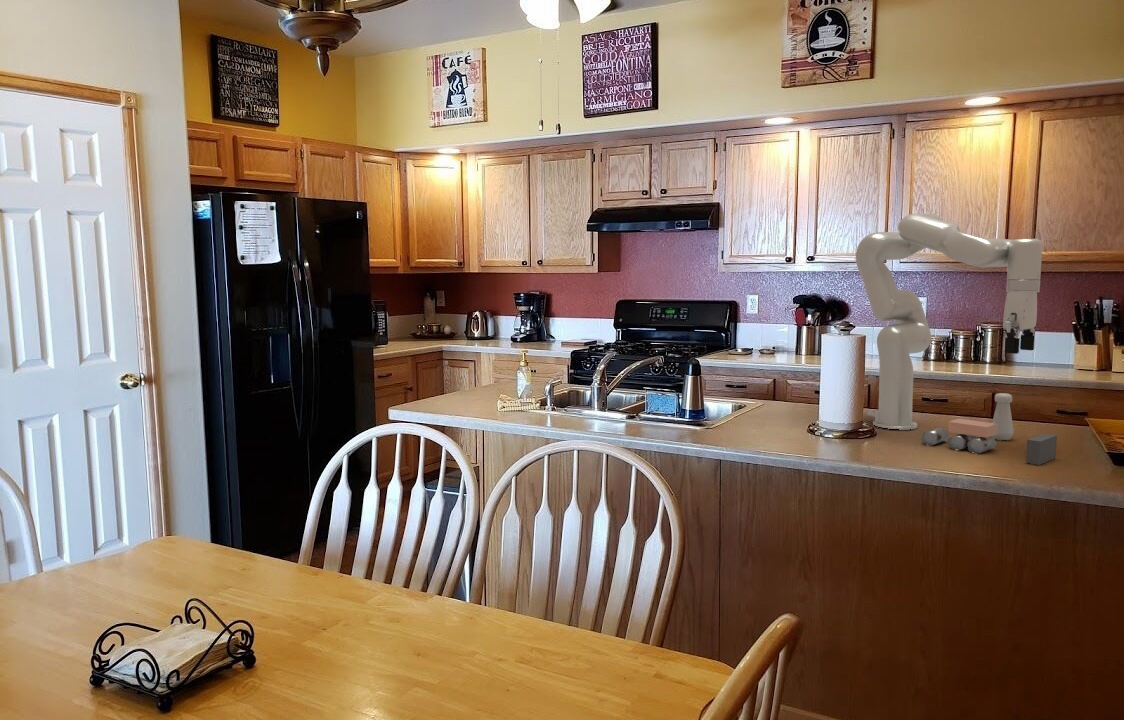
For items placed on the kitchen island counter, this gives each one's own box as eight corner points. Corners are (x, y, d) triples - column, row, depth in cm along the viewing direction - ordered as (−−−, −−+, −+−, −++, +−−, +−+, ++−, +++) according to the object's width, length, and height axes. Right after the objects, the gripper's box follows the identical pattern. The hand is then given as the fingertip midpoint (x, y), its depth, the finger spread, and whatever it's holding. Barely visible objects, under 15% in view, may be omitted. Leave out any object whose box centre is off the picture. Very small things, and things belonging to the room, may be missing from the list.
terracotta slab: (948, 431, 211) (948, 421, 211) (958, 428, 215) (959, 418, 215) (986, 437, 203) (987, 427, 203) (996, 434, 207) (997, 423, 207)
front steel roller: (966, 452, 207) (967, 437, 207) (979, 448, 212) (980, 433, 211) (982, 455, 204) (983, 440, 203) (995, 450, 208) (996, 435, 208)
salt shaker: (1001, 442, 217) (1003, 396, 216) (985, 437, 223) (986, 392, 221) (1018, 440, 219) (1020, 394, 217) (1001, 436, 224) (1003, 391, 223)
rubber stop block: (1026, 463, 195) (1027, 439, 194) (1042, 456, 201) (1043, 433, 200) (1039, 465, 192) (1040, 441, 191) (1055, 458, 198) (1056, 435, 198)
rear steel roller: (948, 449, 211) (948, 434, 211) (961, 444, 216) (961, 430, 215) (963, 451, 208) (963, 437, 207) (976, 447, 212) (976, 432, 212)
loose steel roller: (921, 444, 217) (921, 430, 216) (934, 440, 221) (934, 426, 221) (935, 447, 214) (935, 432, 213) (948, 442, 218) (949, 428, 218)
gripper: (1021, 285, 212) (1017, 347, 214) (993, 287, 201) (990, 353, 204) (1051, 285, 206) (1047, 349, 209) (1025, 288, 196) (1021, 355, 198)
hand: (1019, 351), depth 206 cm, fingers open, 9 cm apart
